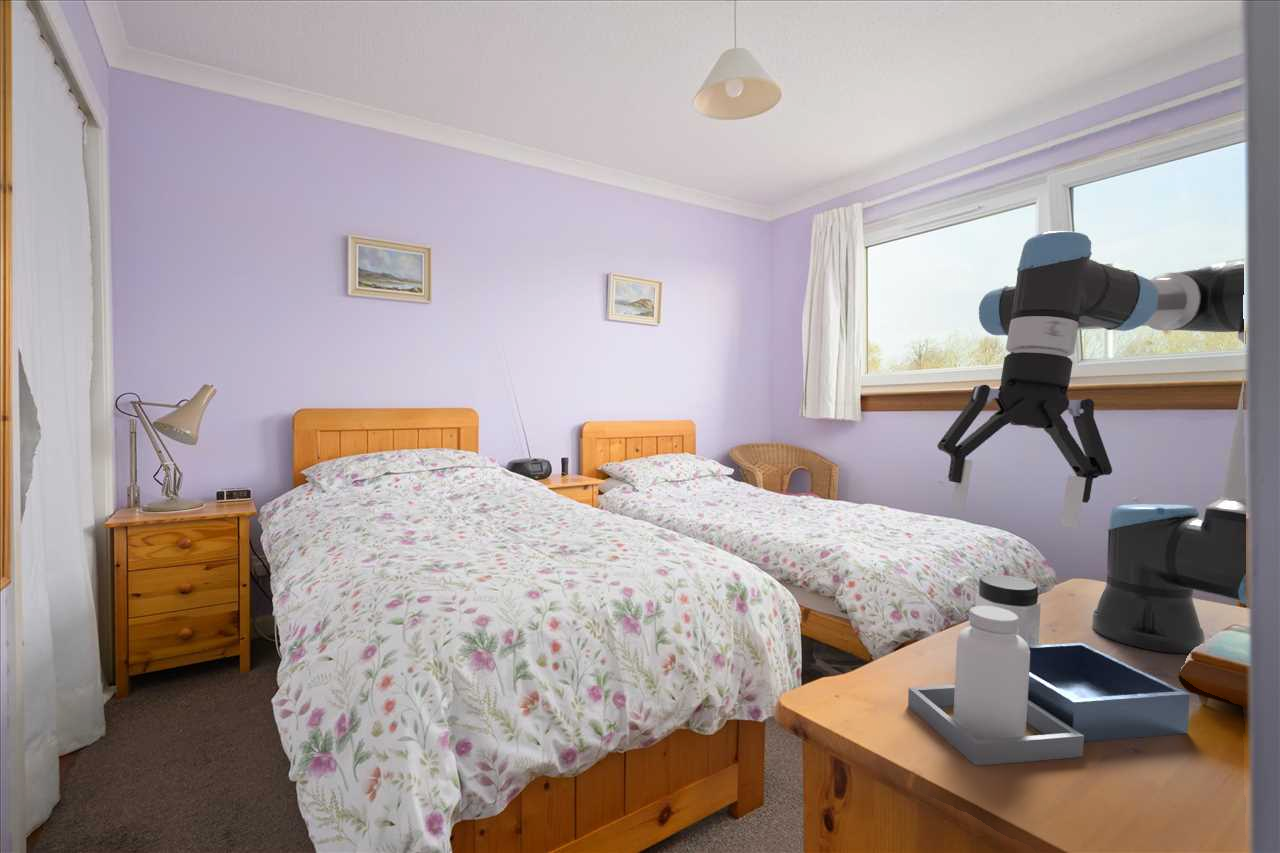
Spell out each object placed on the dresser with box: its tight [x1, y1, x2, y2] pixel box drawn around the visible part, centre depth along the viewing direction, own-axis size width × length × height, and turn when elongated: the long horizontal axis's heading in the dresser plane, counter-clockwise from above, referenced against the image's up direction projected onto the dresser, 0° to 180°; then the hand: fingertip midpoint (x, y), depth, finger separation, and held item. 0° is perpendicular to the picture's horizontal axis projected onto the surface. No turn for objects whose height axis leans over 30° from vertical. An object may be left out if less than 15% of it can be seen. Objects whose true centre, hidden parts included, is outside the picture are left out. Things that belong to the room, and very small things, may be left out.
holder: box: [907, 684, 1085, 767], centre depth 78 cm, size 14×14×2 cm
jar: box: [974, 574, 1041, 646], centre depth 100 cm, size 9×8×12 cm
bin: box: [1028, 642, 1191, 743], centre depth 84 cm, size 16×16×5 cm
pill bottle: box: [953, 606, 1030, 740], centre depth 78 cm, size 8×8×15 cm
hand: (1012, 517), depth 81 cm, fingers open, 13 cm apart
